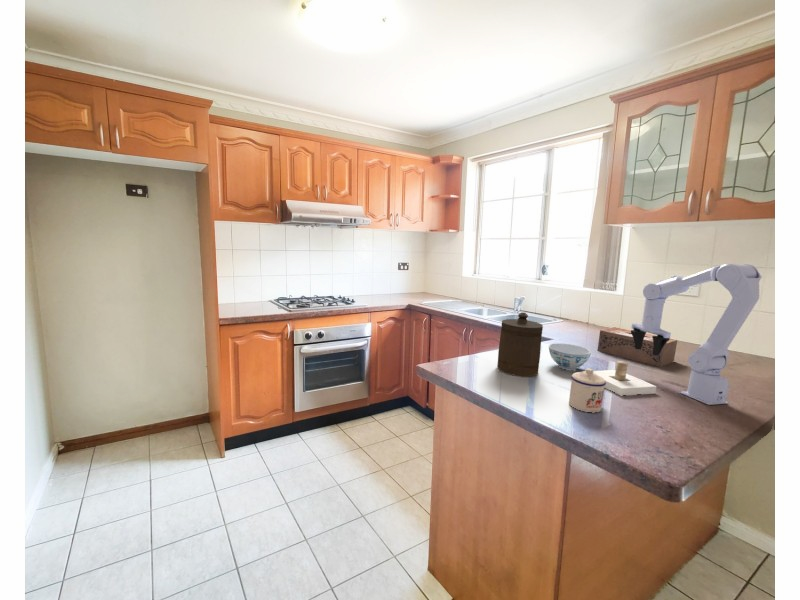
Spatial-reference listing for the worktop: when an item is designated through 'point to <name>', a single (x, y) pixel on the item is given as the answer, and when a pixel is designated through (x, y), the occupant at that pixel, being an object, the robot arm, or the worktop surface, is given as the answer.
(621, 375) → the peg
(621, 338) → the tissue box cover
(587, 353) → the chinaware
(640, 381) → the socket plate
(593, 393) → the teacup with lid
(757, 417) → the worktop surface
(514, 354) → the wooden container
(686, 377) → the worktop surface
